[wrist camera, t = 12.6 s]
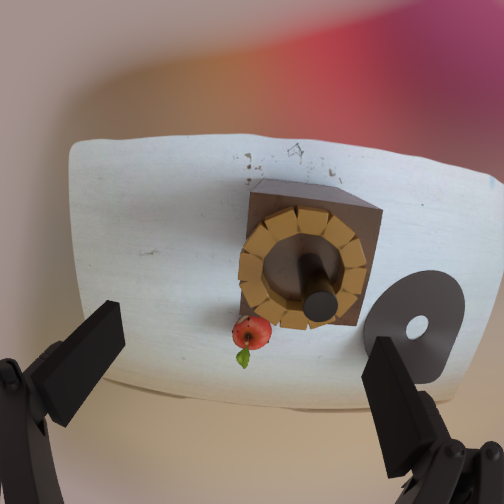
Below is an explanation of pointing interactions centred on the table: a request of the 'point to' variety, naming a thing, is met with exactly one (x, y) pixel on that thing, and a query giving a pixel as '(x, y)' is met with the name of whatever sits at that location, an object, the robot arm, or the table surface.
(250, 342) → the apple
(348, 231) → the ring
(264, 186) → the stand
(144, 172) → the table surface
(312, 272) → the post
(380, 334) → the dark holed disc
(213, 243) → the table surface
